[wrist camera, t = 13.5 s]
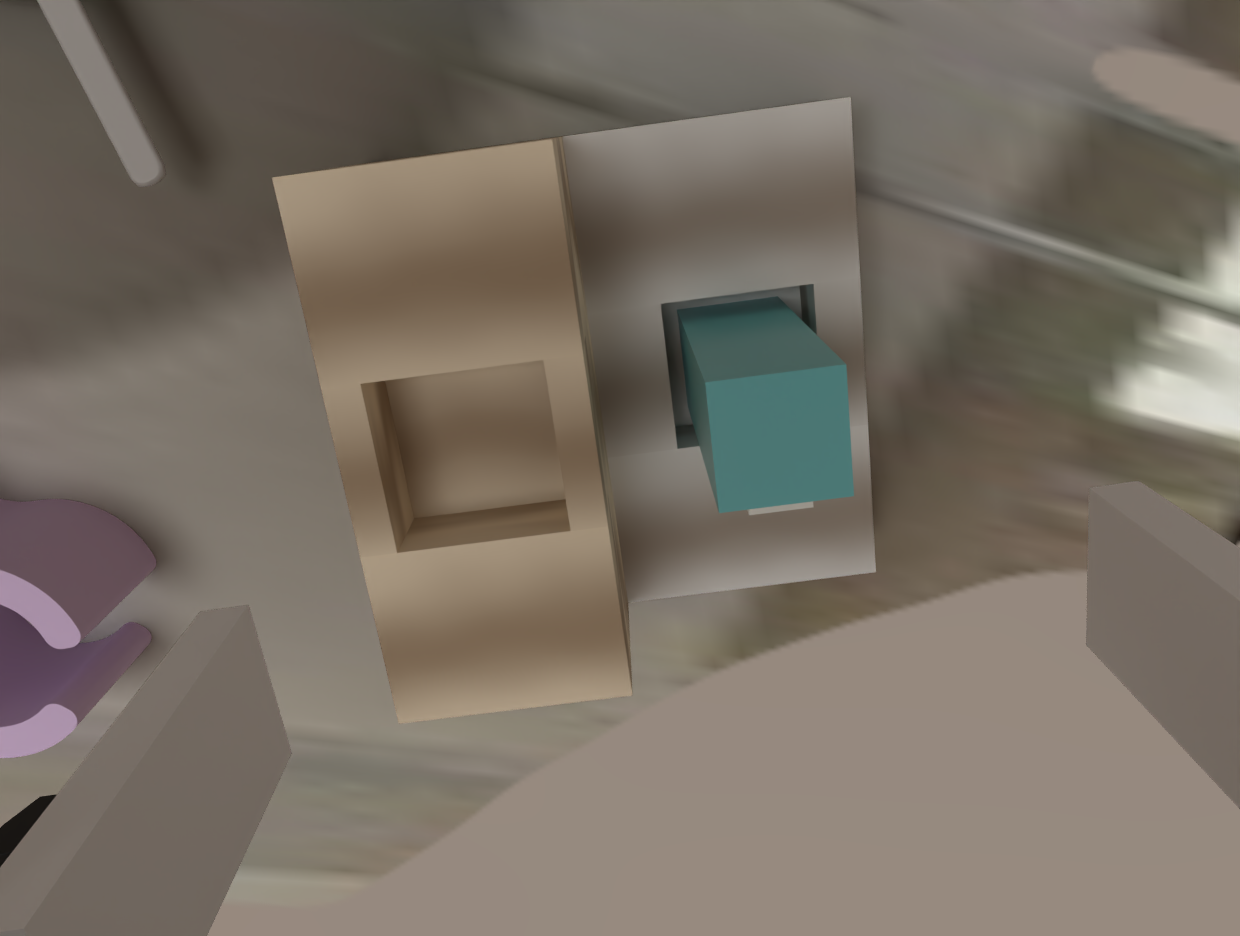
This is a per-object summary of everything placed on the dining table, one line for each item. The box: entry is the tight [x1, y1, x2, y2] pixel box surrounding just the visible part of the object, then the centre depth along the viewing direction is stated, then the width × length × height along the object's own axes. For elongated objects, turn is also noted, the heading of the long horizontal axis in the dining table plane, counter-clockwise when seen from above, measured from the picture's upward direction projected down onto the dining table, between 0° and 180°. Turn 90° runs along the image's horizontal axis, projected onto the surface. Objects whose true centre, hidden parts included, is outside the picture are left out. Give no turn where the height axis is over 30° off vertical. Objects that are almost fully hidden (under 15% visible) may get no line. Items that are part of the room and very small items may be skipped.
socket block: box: [272, 97, 876, 724], centre depth 36 cm, size 18×18×11 cm
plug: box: [677, 296, 854, 515], centre depth 35 cm, size 5×4×12 cm
